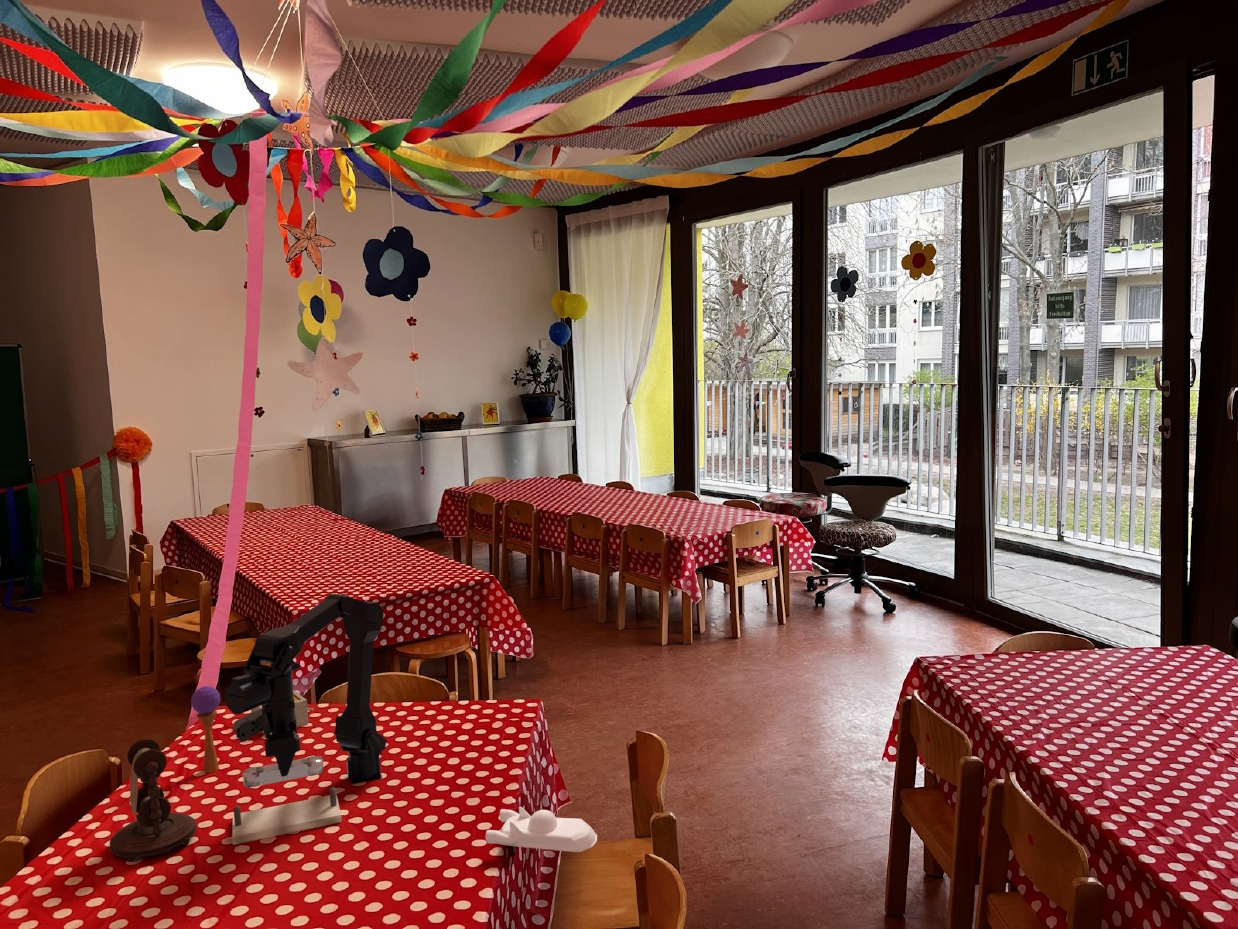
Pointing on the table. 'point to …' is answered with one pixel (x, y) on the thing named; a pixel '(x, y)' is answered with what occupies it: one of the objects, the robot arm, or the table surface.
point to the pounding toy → (296, 710)
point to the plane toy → (542, 831)
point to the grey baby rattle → (272, 773)
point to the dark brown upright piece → (150, 809)
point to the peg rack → (285, 818)
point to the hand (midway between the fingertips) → (284, 772)
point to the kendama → (207, 722)
